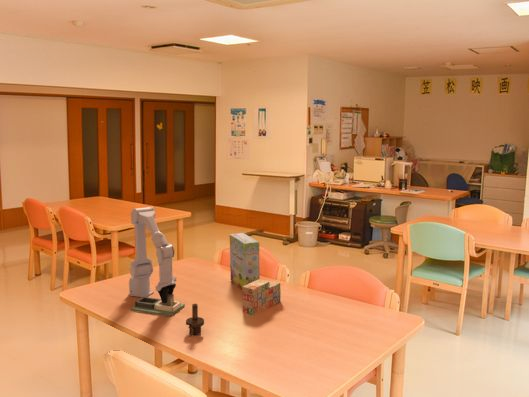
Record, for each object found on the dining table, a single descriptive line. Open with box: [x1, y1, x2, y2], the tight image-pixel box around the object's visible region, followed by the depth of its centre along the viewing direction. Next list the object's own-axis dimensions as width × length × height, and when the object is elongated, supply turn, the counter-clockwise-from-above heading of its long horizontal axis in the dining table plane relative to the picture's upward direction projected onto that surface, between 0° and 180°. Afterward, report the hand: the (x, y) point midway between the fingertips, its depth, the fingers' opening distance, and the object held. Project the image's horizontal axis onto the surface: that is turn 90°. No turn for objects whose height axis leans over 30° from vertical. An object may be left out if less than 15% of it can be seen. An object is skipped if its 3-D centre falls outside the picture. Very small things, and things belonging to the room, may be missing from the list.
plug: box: [162, 293, 175, 307], centre depth 226 cm, size 4×3×6 cm
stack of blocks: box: [241, 279, 281, 316], centre depth 230 cm, size 21×6×12 cm, turn 144°
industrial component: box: [185, 303, 205, 336], centre depth 202 cm, size 9×7×12 cm
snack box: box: [228, 232, 261, 291], centre depth 257 cm, size 22×9×26 cm, turn 25°
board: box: [130, 296, 186, 317], centre depth 228 cm, size 20×13×3 cm, turn 70°
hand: (166, 301), depth 226 cm, fingers closed on plug, 3 cm apart
